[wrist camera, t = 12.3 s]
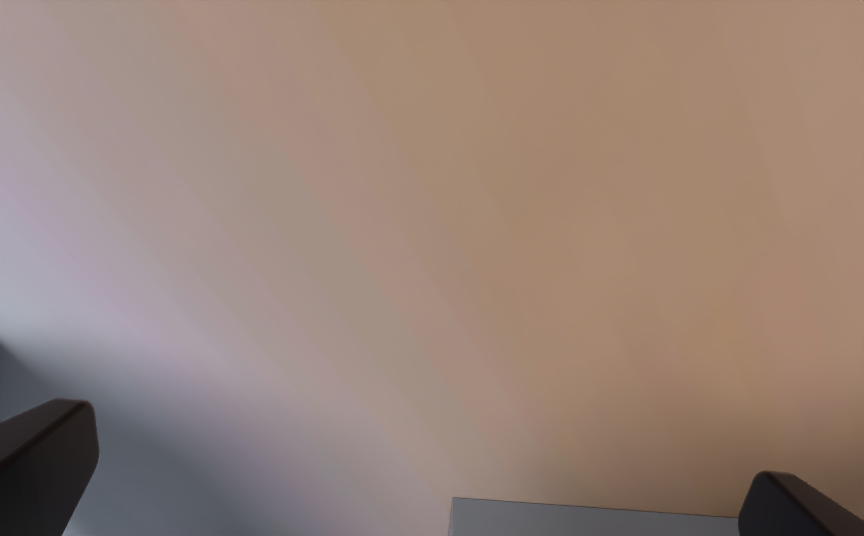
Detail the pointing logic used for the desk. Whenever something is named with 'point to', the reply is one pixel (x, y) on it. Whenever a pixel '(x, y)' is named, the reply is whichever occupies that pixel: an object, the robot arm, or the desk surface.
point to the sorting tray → (576, 521)
